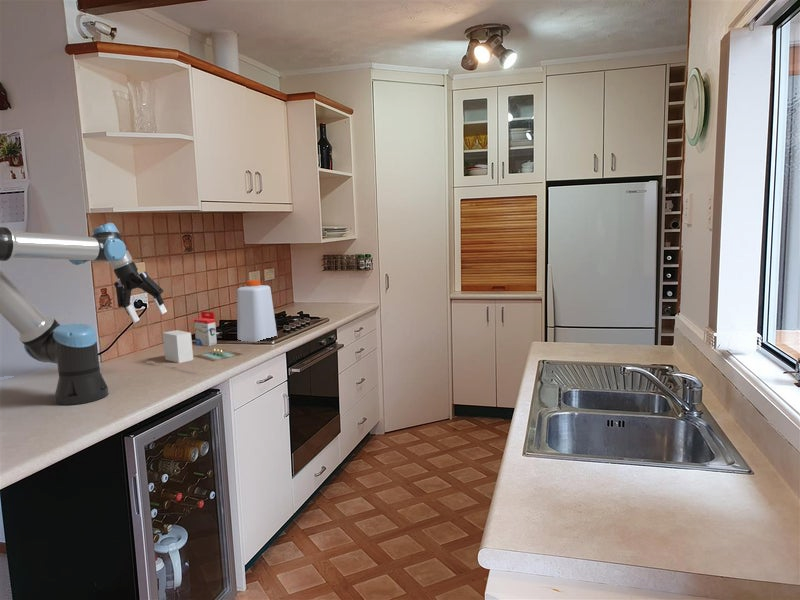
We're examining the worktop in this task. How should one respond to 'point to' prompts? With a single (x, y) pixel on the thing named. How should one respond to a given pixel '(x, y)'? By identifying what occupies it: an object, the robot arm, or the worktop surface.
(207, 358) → the dock board
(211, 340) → the ink box
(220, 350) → the header pins
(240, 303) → the plastic bottle
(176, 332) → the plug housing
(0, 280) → the robot arm
